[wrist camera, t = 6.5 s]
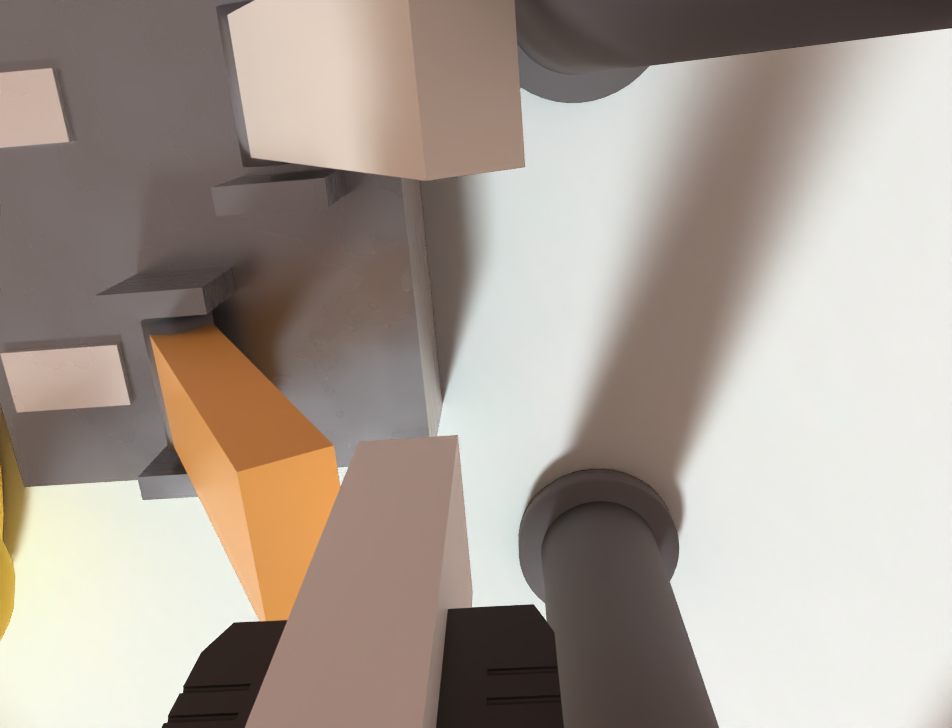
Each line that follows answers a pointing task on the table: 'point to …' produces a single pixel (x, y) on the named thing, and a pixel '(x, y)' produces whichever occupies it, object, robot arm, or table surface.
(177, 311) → the breaker panel
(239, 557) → the orange paddle
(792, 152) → the table surface
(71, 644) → the table surface
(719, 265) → the table surface
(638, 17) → the cable post
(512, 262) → the table surface
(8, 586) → the teapot
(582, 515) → the post
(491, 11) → the ivory paddle
